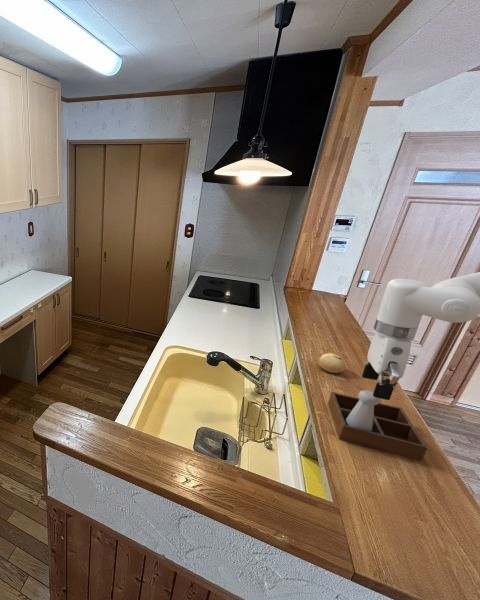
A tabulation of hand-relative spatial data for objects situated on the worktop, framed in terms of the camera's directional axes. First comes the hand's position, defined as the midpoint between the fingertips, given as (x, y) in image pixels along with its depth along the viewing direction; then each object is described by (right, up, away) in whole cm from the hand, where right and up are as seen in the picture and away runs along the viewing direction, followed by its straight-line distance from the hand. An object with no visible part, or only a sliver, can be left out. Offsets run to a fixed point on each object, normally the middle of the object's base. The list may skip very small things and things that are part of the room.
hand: (374, 387), depth 85 cm
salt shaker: (0, -14, +6) cm, 15 cm away
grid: (+5, -14, +7) cm, 17 cm away
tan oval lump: (+16, -3, +37) cm, 40 cm away
